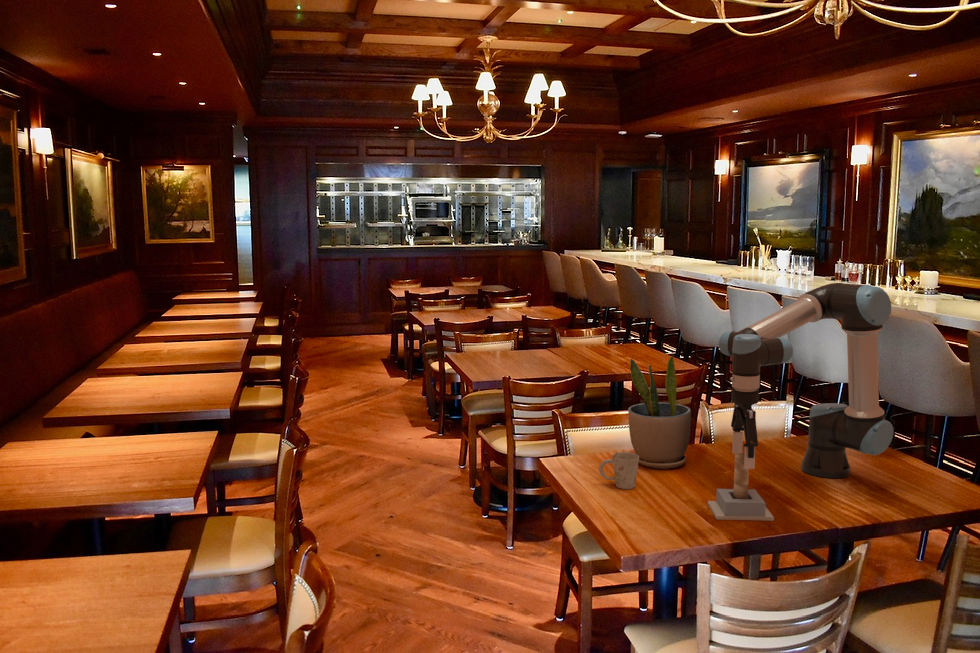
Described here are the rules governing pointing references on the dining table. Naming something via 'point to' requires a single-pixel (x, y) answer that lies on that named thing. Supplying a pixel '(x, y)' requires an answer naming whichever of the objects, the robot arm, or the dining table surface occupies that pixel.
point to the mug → (623, 469)
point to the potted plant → (658, 422)
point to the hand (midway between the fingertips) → (743, 460)
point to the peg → (740, 478)
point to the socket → (739, 506)
